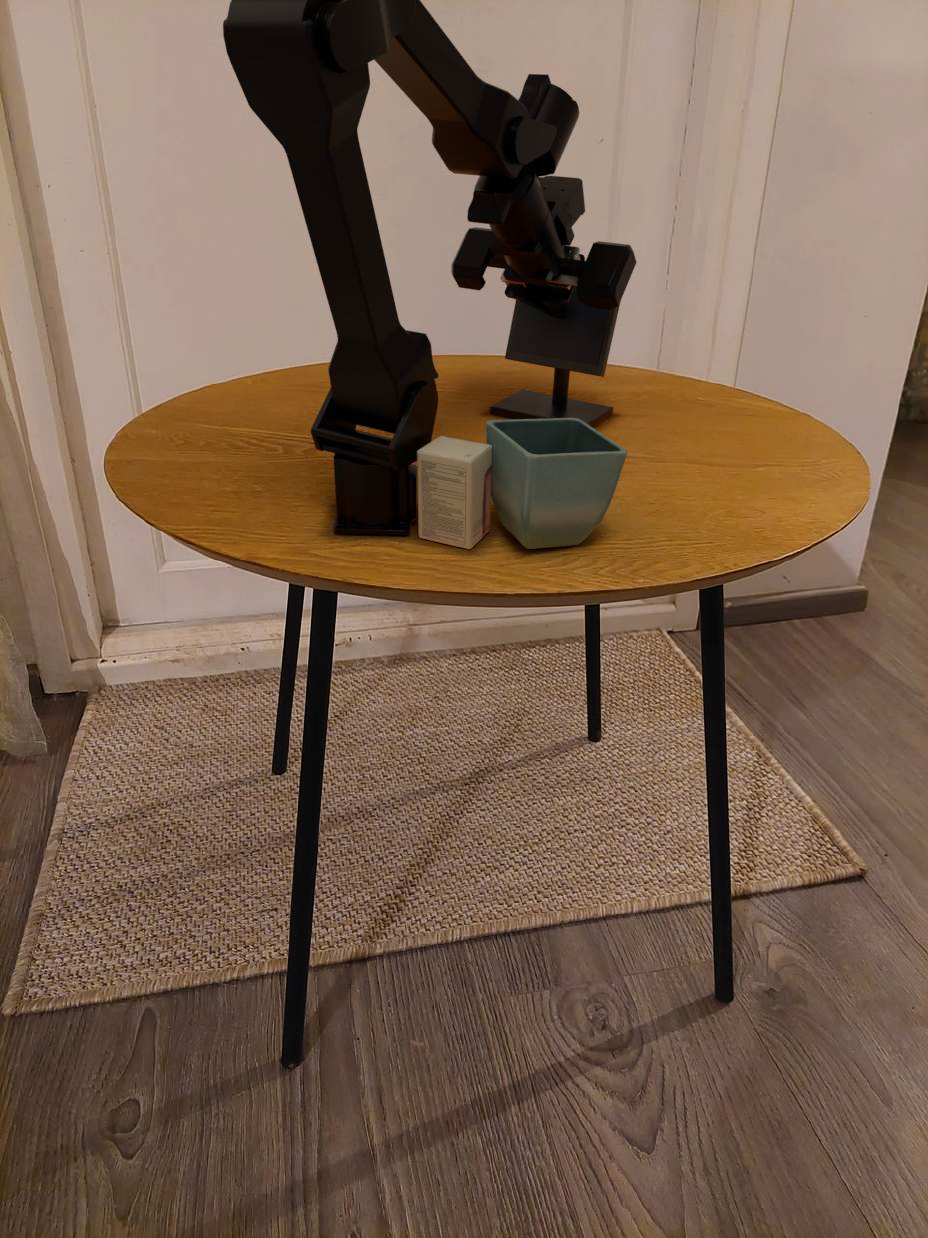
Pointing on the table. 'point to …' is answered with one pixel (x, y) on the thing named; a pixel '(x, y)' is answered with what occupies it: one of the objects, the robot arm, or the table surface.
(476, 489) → the small box
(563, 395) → the monitor stand
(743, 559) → the table surface
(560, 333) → the monitor screen
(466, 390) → the table surface
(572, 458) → the flower pot
